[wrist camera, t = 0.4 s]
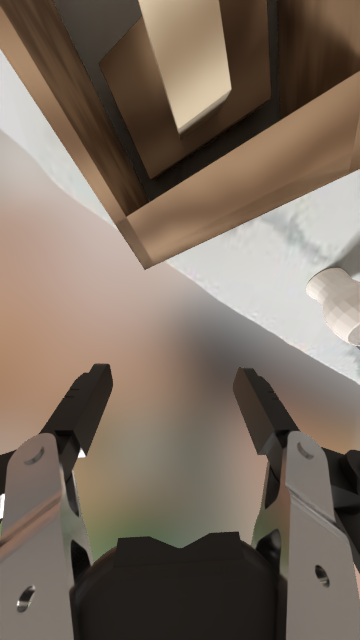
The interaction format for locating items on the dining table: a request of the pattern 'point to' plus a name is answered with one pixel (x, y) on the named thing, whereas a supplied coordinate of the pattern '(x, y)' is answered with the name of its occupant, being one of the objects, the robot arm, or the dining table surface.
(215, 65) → the block
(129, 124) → the access box
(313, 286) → the cup
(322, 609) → the robot arm
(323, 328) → the dining table surface
